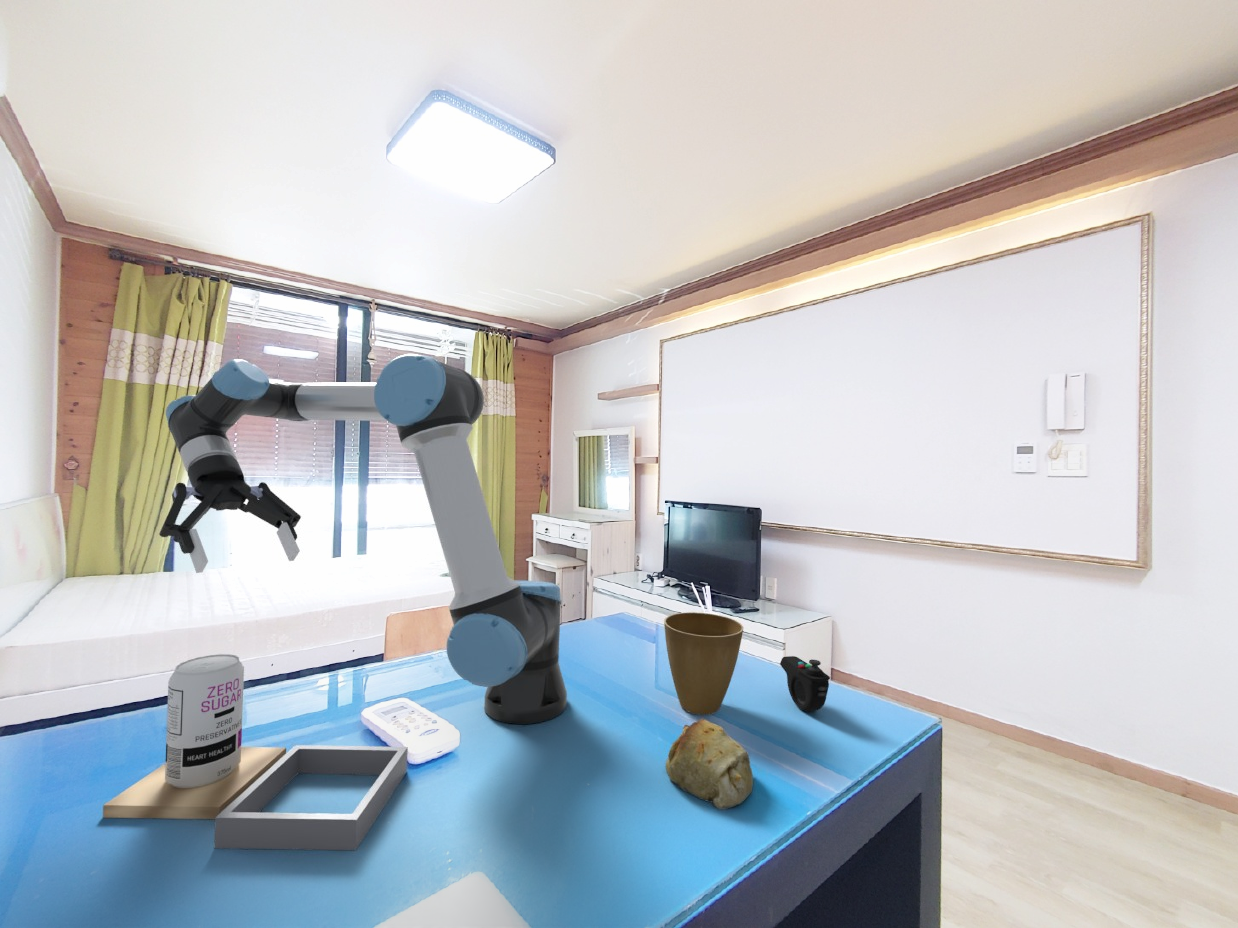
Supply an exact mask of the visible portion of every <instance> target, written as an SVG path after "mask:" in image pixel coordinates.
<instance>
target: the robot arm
mask: <svg viewBox="0 0 1238 928" xmlns="http://www.w3.org/2000/svg"><path fill="white" fill-rule="evenodd" d="M484 396H485V395H484V392H483V389H482V387H481V385H480V384H479V382H478V380H477V379H476V378H475V377H474V376H473V375H472V374H470V373H469V372H467V371H465V370H463V369H460V368H458V367H455V366H452V365H449V364H446V363H443V362H441V361H438V360H437V359H435V358H434V357H432V356H428V355H420V354H415V353H407V354H403V355H399V356H397V357H395V358H393V359H391V361H389V362H388V363H387V364H386V365H384V367H383V368H382V370H381V373H380V375H379V376H378V377H377V378H376V381H375V382H286V381H282V380H281V381H280V380H279V381H278V380H274V379H271V378H269V376H268V375H267V374H266V373H265V372H264V371H263V370H262V369H261V368H260V367H259V366H257V365H256V364H253V363H250V362H249V361H247V360H244V359H241V358H240V359H239V358H234V359H231V360H229V361H227V362H226V363H225V364H224V365H223V366H222V367H221V368H219V369H218V370H217V371H215V372H214V373H213V375H212V377H211V378H210V379H209V380H208V381H207V382H206V383H205V385H204V386H203V387H202V388H201V389H200V390H199V391H198V392H197V394H196V395H194V394H190V395H183V396H180V398H177V399H174V400H173V401H171V402H169V403H168V405H167V407H166V410H165V416H166V421H167V427H168V430H169V431H170V433H171V435H172V439H173V440H174V443H175V445H176V448H177V450H178V452H179V455H180V458H181V460H182V461H181V462H182V463H183V466H184V468H185V471H186V473H187V477H188V480H189V483H190V484H191V486H186V484H185V483H183V482H177V483H176V485H175V487H174V489H173V491H172V493H171V496H172V497H171V499H172V504H171V507H170V508H169V511H168V513H167V516H166V517H165V520H164V522H163V524H162V527H161V529H160V531H159V533H158V535H159V537H161V538H167V537H173V542H175V543H178V545H179V548H180V551H181V552H182V553H183V554H184V555H185V554H189V556H190V559H191V563H192V564H193V568H194V570H195V572H196V574H200V573H203V572H204V571H205V568H206V567H207V564H208V563H209V560H208V557H207V554H206V552H205V548H204V546H203V544H202V541H201V538H200V536H199V533H198V530H197V528H194V527H195V526H196V524H197V523H199V521H200V520H201V519H202V518H203V517H204V516H205V515H206V514H207V513H208V512H209V511H210V510H211V509H214V510H216V511H224V510H228V511H229V510H231V511H235V510H240V511H242V513H243V512H244V513H250V514H252V515H253V516H255V517H257V518H259V519H260V520H261V521H264V522H265V523H268V524H269V525H271V526H273V527H274V528H277V529H278V530H277V531H276V535H277V537H278V539H279V542H280V544H281V546H282V548H283V550H284V553H285V555H286V557H287V559H288V562H293V561H295V559H296V558H297V557H298V554H299V553H300V552H301V551H300V548H299V546H298V544H297V541H296V540H297V539H298V534H297V531H296V529H295V528H296V526H297V524H298V523H299V522H300V520H301V519H302V516H301V515H300V514H299V513H298V512H297V511H295V510H294V509H293V508H292V507H290V505H288V504H287V503H286V502H285V501H284V500H282V499H281V498H280V497H279V496H278V495H276V494H275V493H274V492H273V491H272V490H271V489H270V487H269V486H268V484H267V483H266V482H263V481H261V482H259V484H258V485H254V486H253V485H252V486H250V485H249V484H248V483H247V482H246V480H245V476H244V473H243V470H242V468H241V466H240V464H239V461H238V459H237V456H236V454H235V452H234V450H233V447H232V445H231V443H230V441H229V439H228V436H227V432H228V431H229V430H230V429H231V428H232V427H233V426H234V425H235V424H236V423H237V421H239V420H240V419H241V418H242V417H243V416H255V417H260V418H261V417H263V418H272V419H278V420H279V419H280V420H288V421H291V422H292V421H293V422H308V421H312V420H313V421H315V420H316V421H317V420H318V421H319V420H320V421H354V422H355V421H359V422H360V421H363V422H367V421H371V422H388V423H390V424H392V425H393V426H395V427H396V430H397V433H398V434H397V435H398V437H399V440H400V444H401V446H402V447H404V448H405V449H406V450H408V451H411V452H413V454H414V456H415V460H416V463H417V467H418V470H419V474H420V476H421V477H420V478H421V480H422V484H423V487H424V491H425V494H426V498H427V500H428V505H429V508H430V511H431V516H432V518H433V521H434V525H435V528H436V532H437V535H438V539H439V543H440V545H441V549H442V553H443V555H444V559H445V563H446V566H447V569H448V570H447V571H448V573H449V577H450V579H451V583H452V584H451V585H452V587H453V591H454V596H453V598H452V600H451V602H450V604H449V606H448V609H449V613H450V616H451V621H452V624H453V626H452V627H451V630H450V632H449V635H448V637H447V640H446V654H447V658H448V661H449V663H450V665H451V667H452V668H453V671H454V672H456V674H457V675H458V676H459V677H460V678H461V679H463V680H465V681H467V682H469V683H471V684H472V685H475V686H479V687H481V688H482V687H484V688H485V687H486V691H485V694H484V703H483V704H484V705H483V707H484V708H483V709H484V712H485V714H486V715H488V716H489V717H490V718H491V719H494V720H496V721H498V722H502V723H507V724H516V725H517V724H518V725H526V724H527V725H529V724H536V723H541V722H542V723H543V722H546V721H549V720H551V719H554V718H556V717H557V716H560V715H561V714H562V713H564V712H565V710H566V708H567V701H568V700H567V699H568V694H567V693H568V692H567V688H566V685H565V682H564V678H563V675H562V671H561V667H560V663H559V662H560V661H559V659H560V657H559V656H560V655H559V654H560V635H561V633H560V630H561V608H562V607H561V606H562V604H563V603H562V598H561V588H560V586H559V585H558V584H556V583H553V582H547V581H539V580H537V581H536V580H514V579H512V578H511V577H509V576H508V573H507V570H506V567H505V564H504V560H503V558H502V554H501V550H500V547H499V544H498V540H497V538H496V535H495V534H496V533H495V531H494V527H493V524H492V520H491V517H490V514H489V511H488V506H487V503H486V500H485V497H484V494H483V490H482V487H481V482H480V481H479V477H478V473H477V471H476V466H475V463H474V460H473V456H472V453H471V450H470V446H469V442H468V438H469V435H470V434H471V432H472V430H473V424H474V423H476V421H478V419H479V418H480V416H481V414H482V412H483V410H484V405H485V398H484ZM191 496H193V497H194V498H195V499H196V500H198V501H200V503H199V504H197V506H196V507H195V508H194V509H193V510H192V511H191V513H189V515H188V516H186V518H185V519H184V520H183V521H182V522H181V524H175V523H176V522H177V520H178V517H179V515H180V512H181V510H182V507H183V504H184V503H185V501H186V500H189V499H190V497H191ZM246 500H247V502H246ZM245 502H246V503H245Z"/></svg>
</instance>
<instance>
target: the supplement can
mask: <svg viewBox="0 0 1238 928" xmlns="http://www.w3.org/2000/svg"><path fill="white" fill-rule="evenodd" d="M244 677H245V666H244V665H243V663H242V662H241V660H240V657H239V656H237V655H234V654H230V653H229V654H226V653H218V654H208V655H204V656H199V657H194V658H190V659H188V660H185V661H183V662H180V663H179V664H177V665H176V666H175V668H174V671H173V672H172V674H171V676H170V677H169V680H168V684H167V685H168V687H167V713H166V718H167V719H166V737H165V738H166V739H165V740H166V742H165V745H166V746H165V763H164V764H165V780H166V781H167V782H168V784H172V785H173V786H174V787H177V788H195V787H200V786H204V785H207V784H211V783H214V782H216V781H218V780H220V779H222V778H224V777H226V776H227V775H229V774H230V773H232V771H233V770H234V769H235V768H236V767H237V766H238V765H239V763H240V762H241V747H242V738H243V737H242V735H243V713H244V712H243V708H244V706H243V705H244V681H245V680H244Z"/></svg>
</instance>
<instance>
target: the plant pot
mask: <svg viewBox="0 0 1238 928" xmlns="http://www.w3.org/2000/svg"><path fill="white" fill-rule="evenodd" d="M663 625H664V626H663V627H664V634H665V637H664V638H665V644H666V651H667V656H668V657H667V658H668V663H669V667H670V668H669V669H670V672H671V677H672V680H673V684H674V689H675V693H676V695H677V696H676V697H677V698H678V702H679V704H680V707H681V708H682V709H683V710H684V711H685V712H688V713H691V714H693V713H694V714H695V715H699V714H700V716H709V714H710V715H714V714H716V713H717V712H718V711H720V708H721V706H722V704H723V701H724V699H725V696H726V694H727V692H728V688H729V686H730V683H731V682H732V679H733V675H734V671H735V668H736V666H737V661H738V657H739V653H740V648H741V642H742V638H743V633H744V626H743V624H742V623H740V622H739V621H737V620H735V619H733V618H731V617H727V616H723V615H720V614H719V615H718V614H713V613H707V612H695V611H691V612H689V611H688V612H678V613H673V614H670V615H668V616H666V617H665V618H664V620H663Z"/></svg>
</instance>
